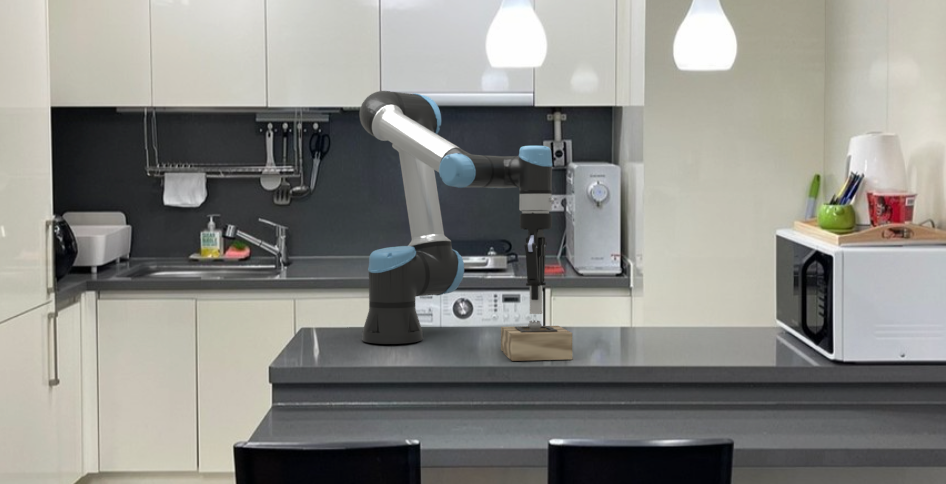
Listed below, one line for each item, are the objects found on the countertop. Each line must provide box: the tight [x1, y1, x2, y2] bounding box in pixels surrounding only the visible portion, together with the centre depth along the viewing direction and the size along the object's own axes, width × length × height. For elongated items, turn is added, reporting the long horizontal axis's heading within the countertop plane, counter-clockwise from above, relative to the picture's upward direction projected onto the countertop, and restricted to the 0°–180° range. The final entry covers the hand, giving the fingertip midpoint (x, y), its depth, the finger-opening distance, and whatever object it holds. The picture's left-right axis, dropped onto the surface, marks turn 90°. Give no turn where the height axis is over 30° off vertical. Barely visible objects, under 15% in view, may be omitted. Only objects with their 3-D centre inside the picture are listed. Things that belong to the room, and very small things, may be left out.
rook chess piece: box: [527, 319, 543, 330], centre depth 225 cm, size 4×4×8 cm
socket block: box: [500, 325, 573, 362], centre depth 225 cm, size 14×14×6 cm
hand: (536, 313), depth 225 cm, fingers closed
